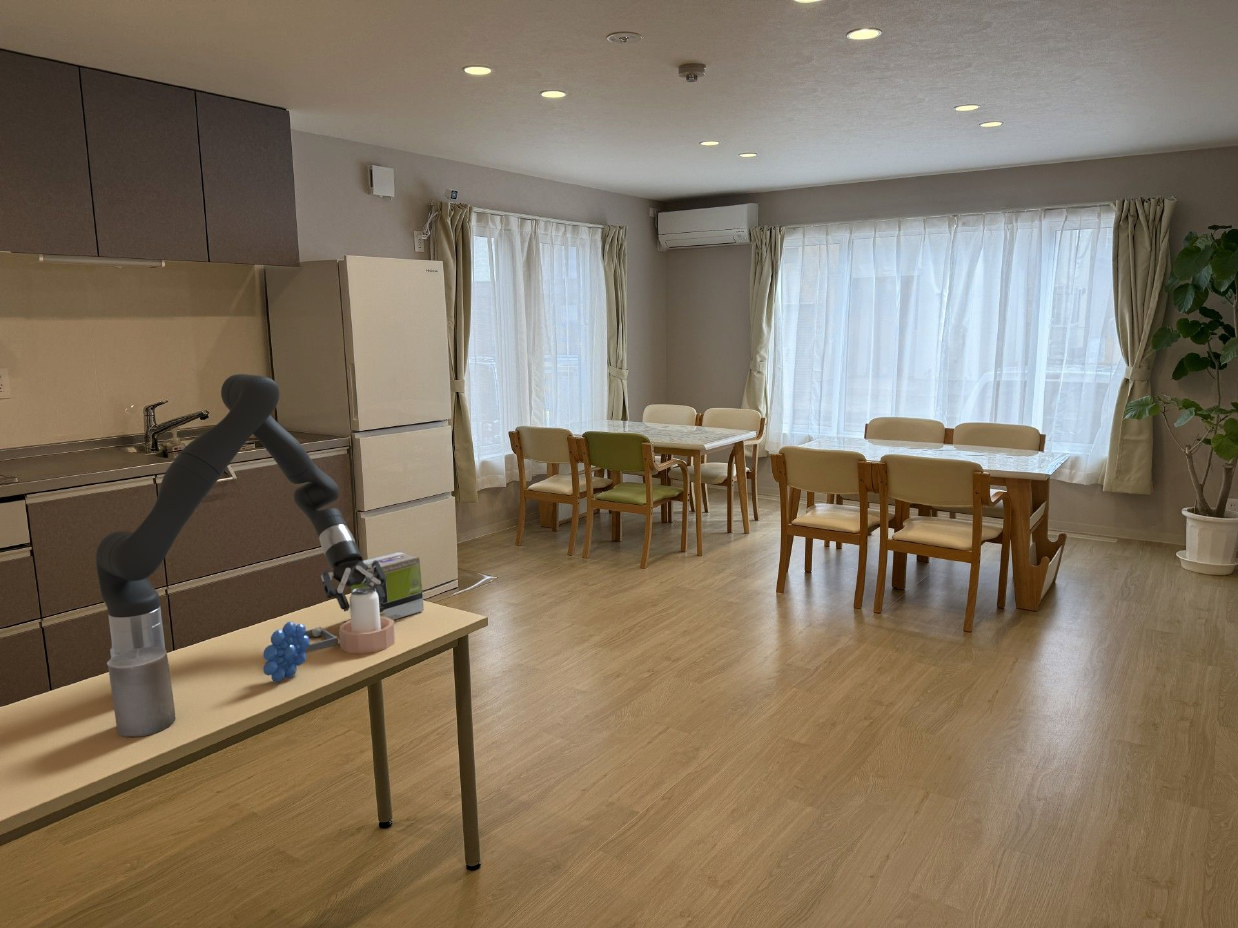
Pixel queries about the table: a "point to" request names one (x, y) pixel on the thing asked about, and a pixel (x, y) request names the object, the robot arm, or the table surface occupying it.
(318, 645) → the tray
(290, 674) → the blue lumpy cluster
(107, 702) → the table surface
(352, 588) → the tea box
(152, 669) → the pillar candle
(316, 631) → the pebbles
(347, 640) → the bowl
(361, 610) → the can
